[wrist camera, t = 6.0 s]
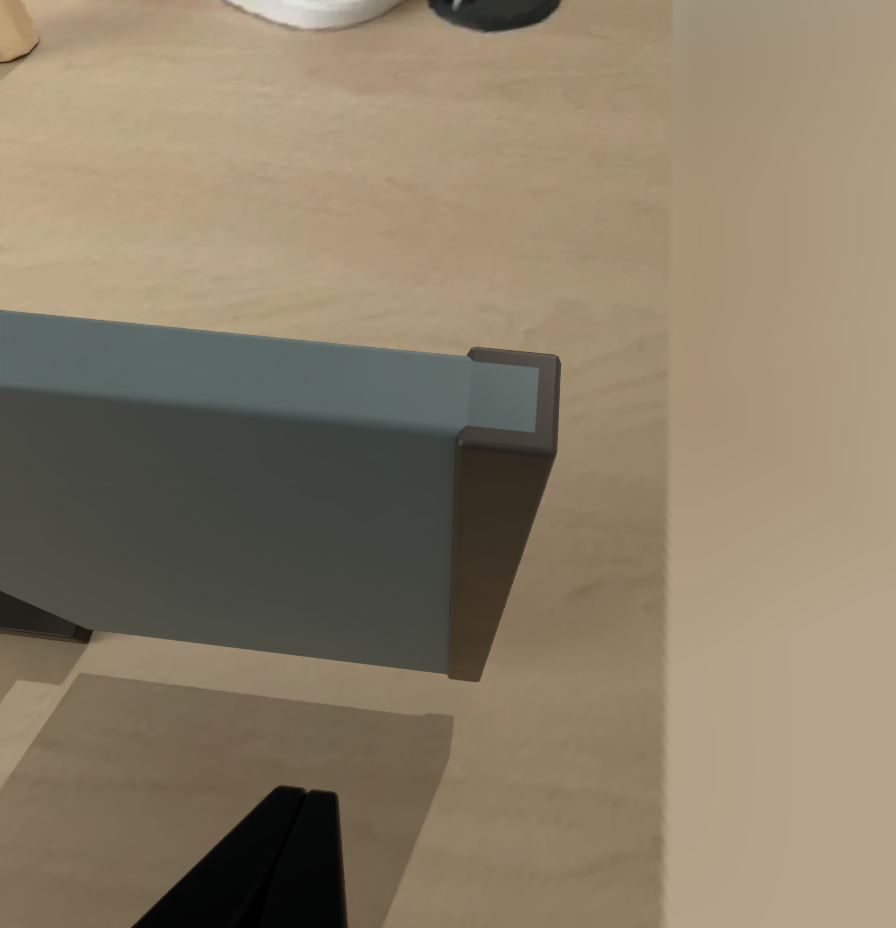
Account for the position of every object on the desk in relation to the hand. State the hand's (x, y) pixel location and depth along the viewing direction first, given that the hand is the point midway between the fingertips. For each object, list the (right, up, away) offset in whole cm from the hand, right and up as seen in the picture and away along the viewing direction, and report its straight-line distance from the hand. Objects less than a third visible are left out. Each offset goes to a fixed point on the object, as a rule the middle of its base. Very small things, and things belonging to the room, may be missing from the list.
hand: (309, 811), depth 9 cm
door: (-2, 0, +7) cm, 8 cm away
